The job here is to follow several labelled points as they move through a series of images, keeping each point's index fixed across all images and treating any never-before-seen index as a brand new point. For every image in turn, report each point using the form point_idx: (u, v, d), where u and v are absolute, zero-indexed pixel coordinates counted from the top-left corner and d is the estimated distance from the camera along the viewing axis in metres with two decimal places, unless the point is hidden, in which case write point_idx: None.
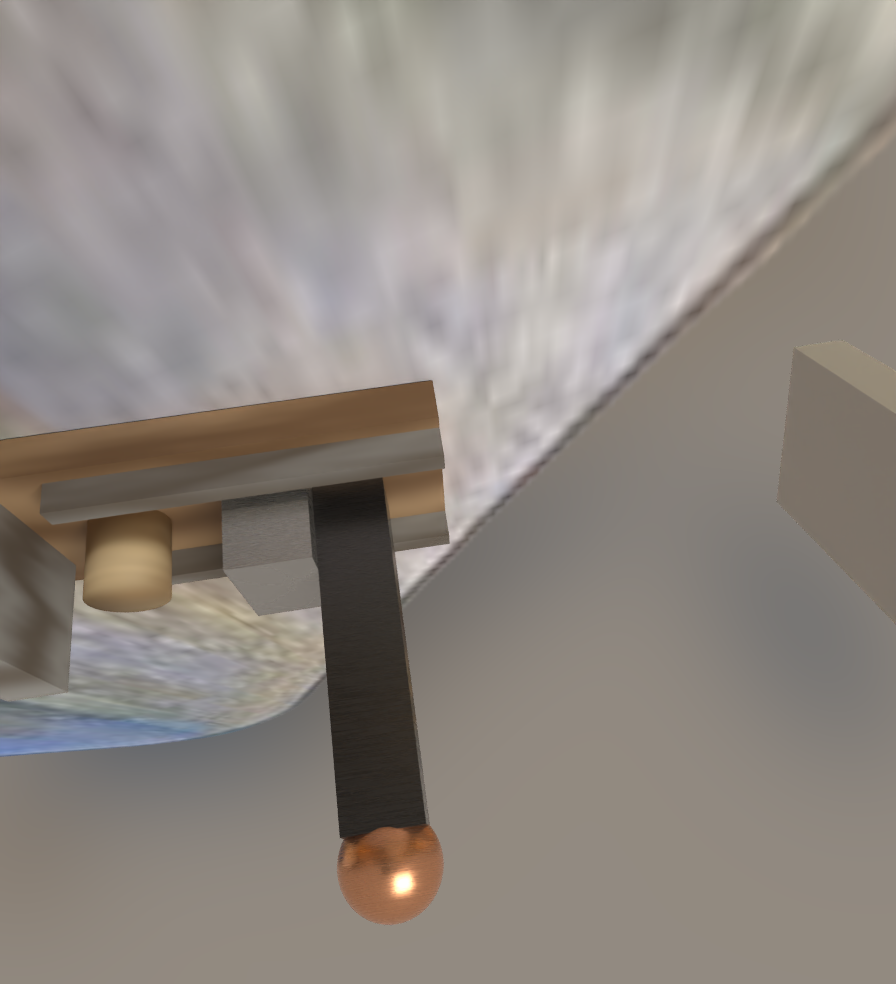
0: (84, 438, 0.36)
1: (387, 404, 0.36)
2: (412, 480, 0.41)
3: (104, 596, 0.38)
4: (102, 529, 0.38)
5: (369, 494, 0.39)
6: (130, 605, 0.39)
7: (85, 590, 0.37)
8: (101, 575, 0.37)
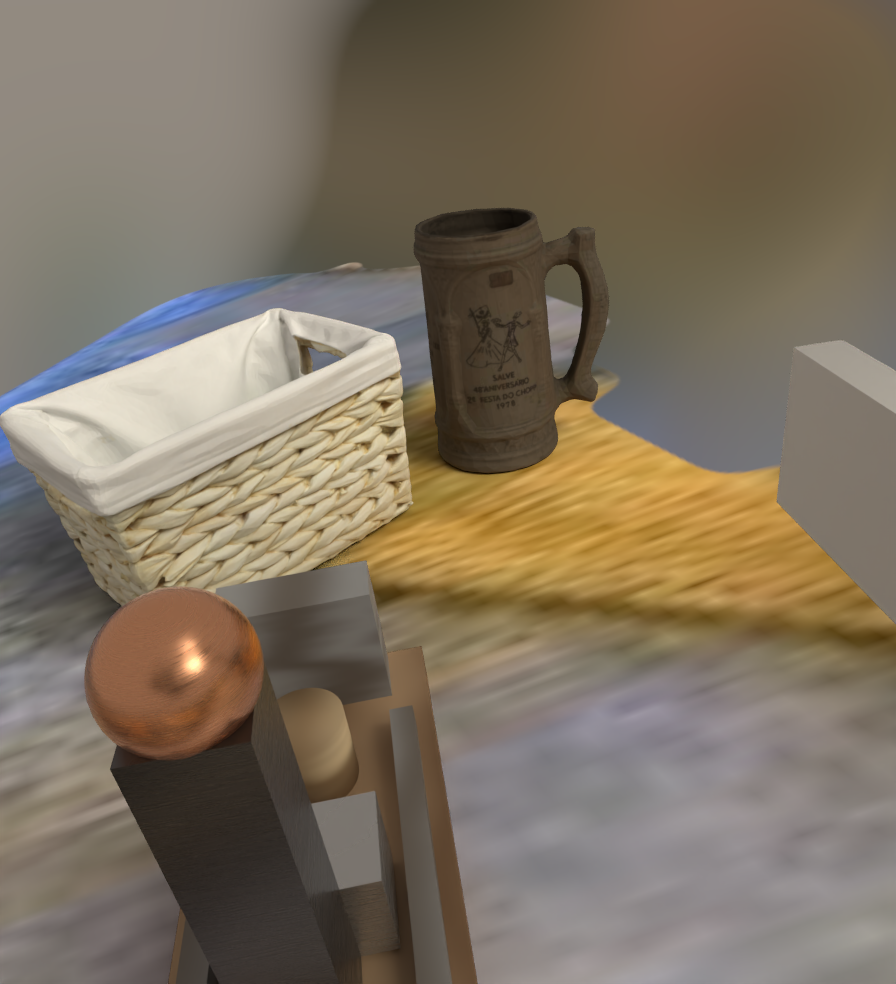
0: None
1: None
2: None
3: (314, 702, 0.38)
4: None
5: None
6: None
7: None
8: (343, 711, 0.38)
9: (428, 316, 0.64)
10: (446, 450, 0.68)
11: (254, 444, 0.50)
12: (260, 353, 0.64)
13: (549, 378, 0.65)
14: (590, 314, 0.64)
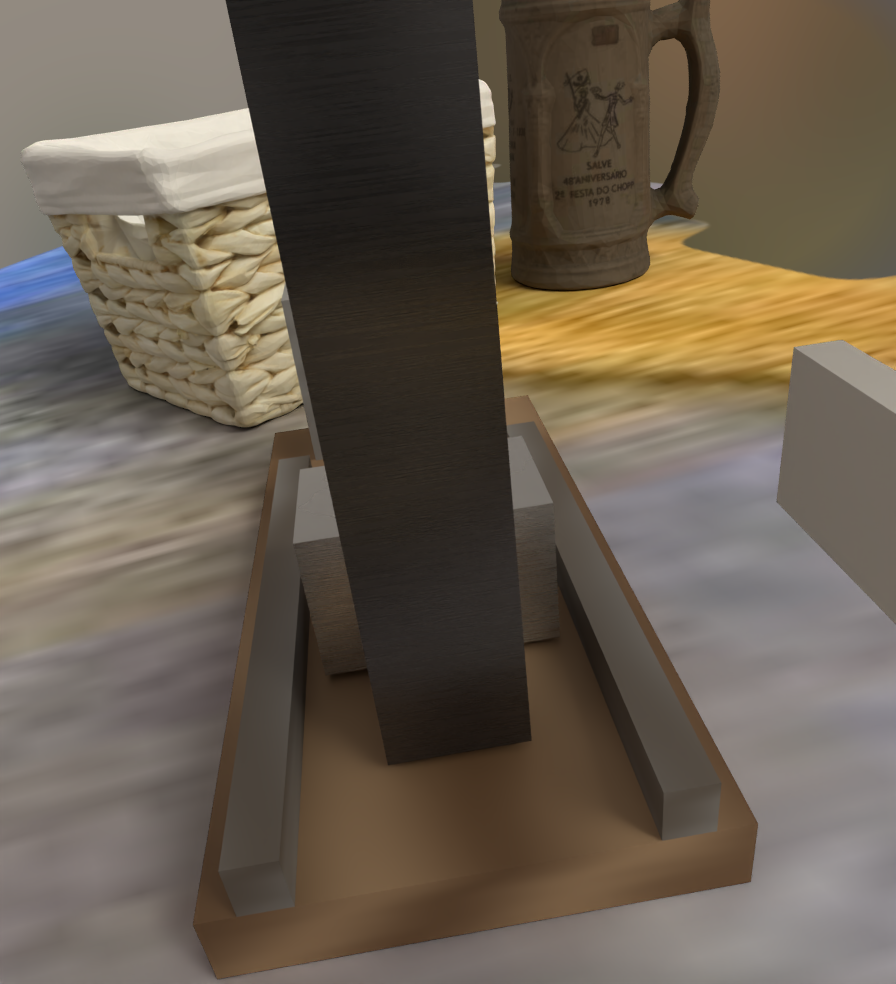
0: None
1: None
2: (482, 810, 0.18)
3: None
4: None
5: None
6: None
7: None
8: None
9: (513, 96, 0.55)
10: (523, 267, 0.60)
11: None
12: None
13: (648, 177, 0.57)
14: (698, 102, 0.56)
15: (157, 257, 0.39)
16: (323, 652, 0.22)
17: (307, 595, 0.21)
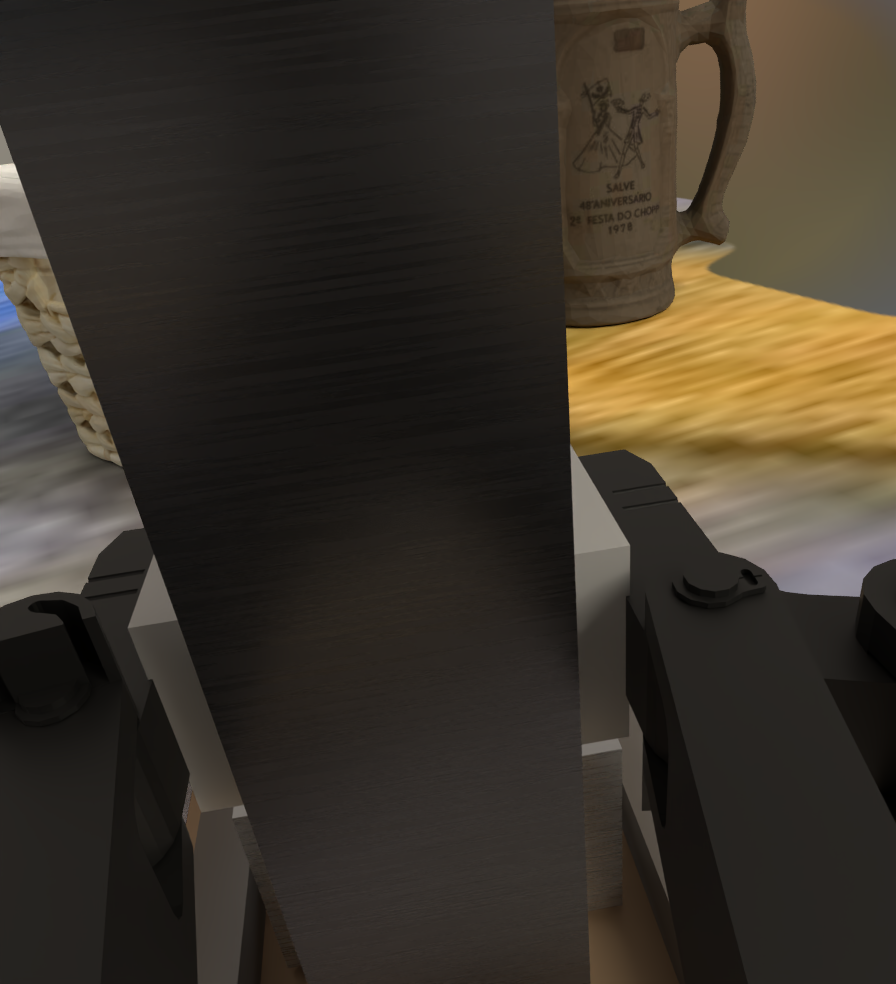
0: None
1: None
2: None
3: None
4: None
5: None
6: None
7: None
8: None
9: None
10: None
11: None
12: None
13: (675, 199, 0.50)
14: (731, 115, 0.49)
15: None
16: (283, 942, 0.15)
17: (257, 878, 0.14)
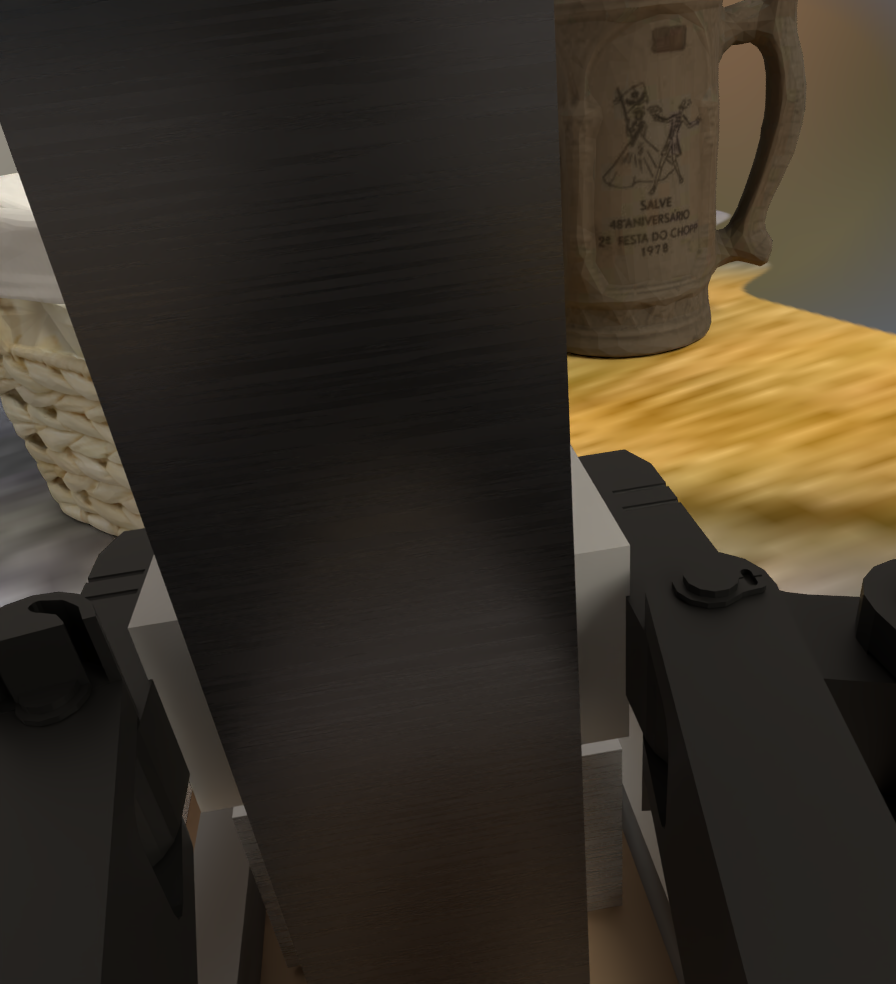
0: None
1: None
2: None
3: None
4: None
5: None
6: None
7: None
8: None
9: None
10: None
11: None
12: None
13: (715, 217, 0.45)
14: (779, 123, 0.44)
15: None
16: (283, 942, 0.15)
17: (257, 878, 0.14)
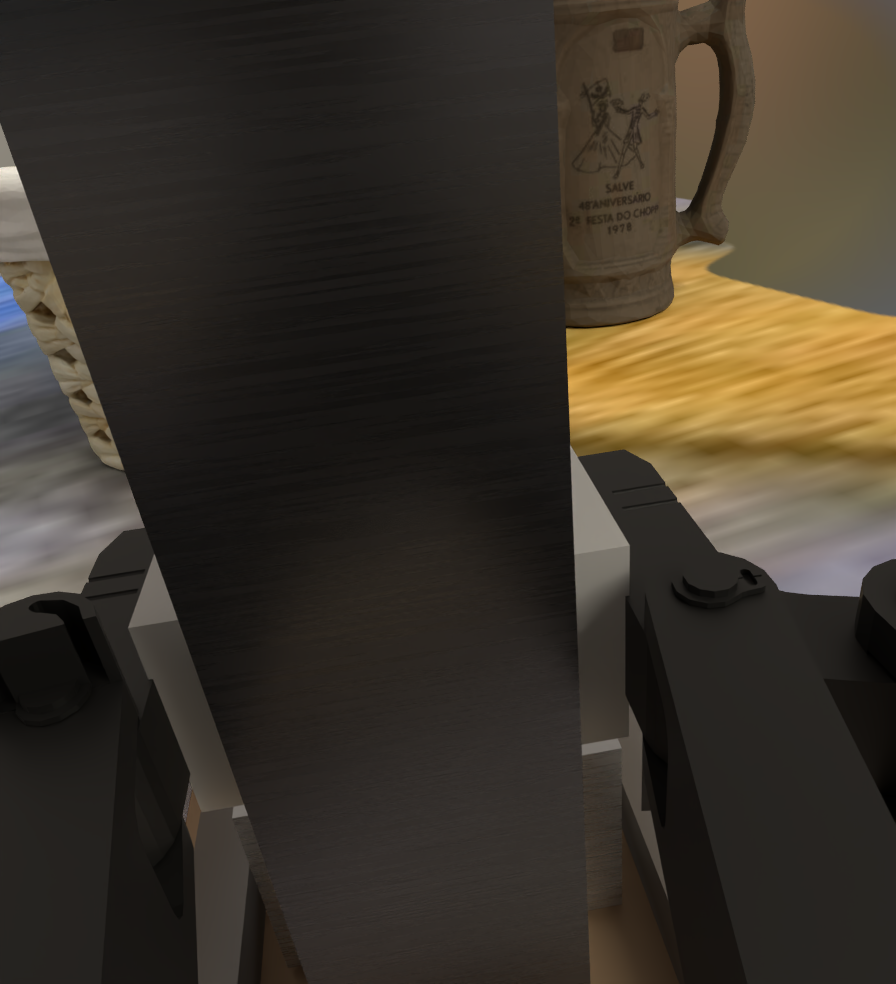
0: None
1: None
2: None
3: None
4: None
5: None
6: None
7: None
8: None
9: None
10: None
11: None
12: None
13: (674, 200, 0.50)
14: (731, 115, 0.49)
15: None
16: (283, 942, 0.15)
17: (257, 878, 0.14)
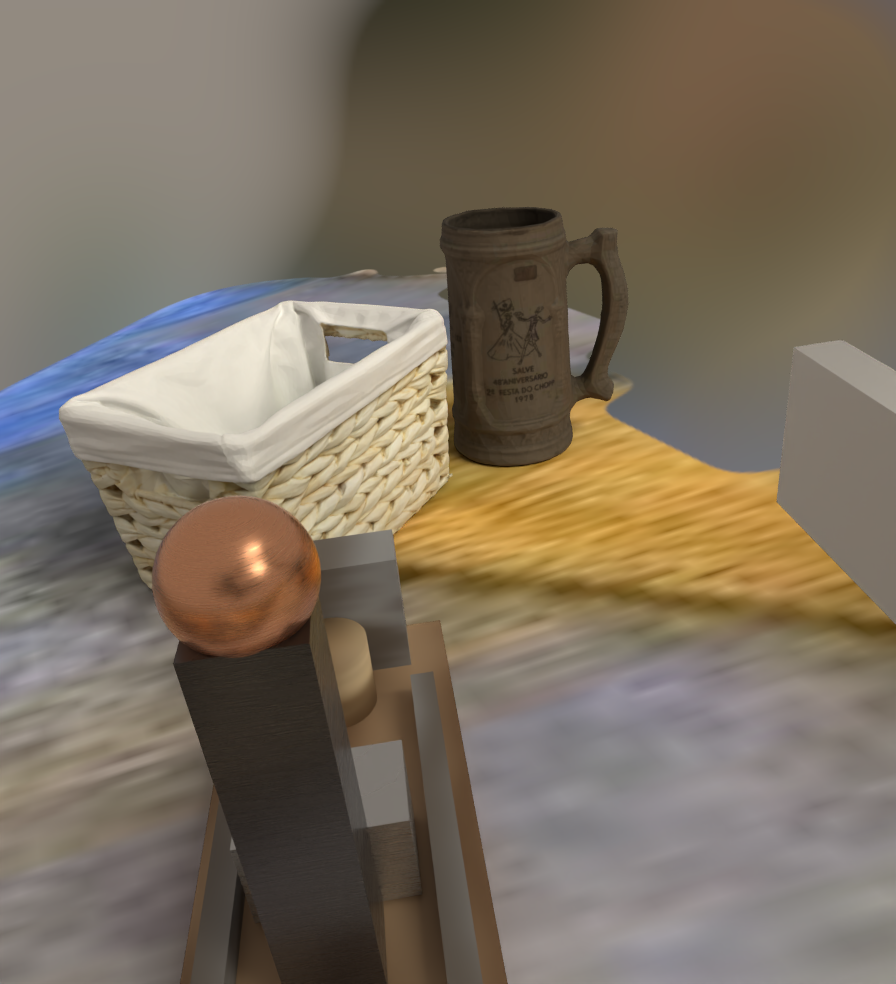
0: None
1: None
2: None
3: (339, 629, 0.41)
4: None
5: (383, 957, 0.29)
6: None
7: None
8: None
9: (451, 309, 0.65)
10: (462, 442, 0.69)
11: (356, 410, 0.51)
12: (279, 344, 0.64)
13: (567, 374, 0.66)
14: (609, 313, 0.66)
15: None
16: (253, 910, 0.31)
17: (240, 878, 0.30)
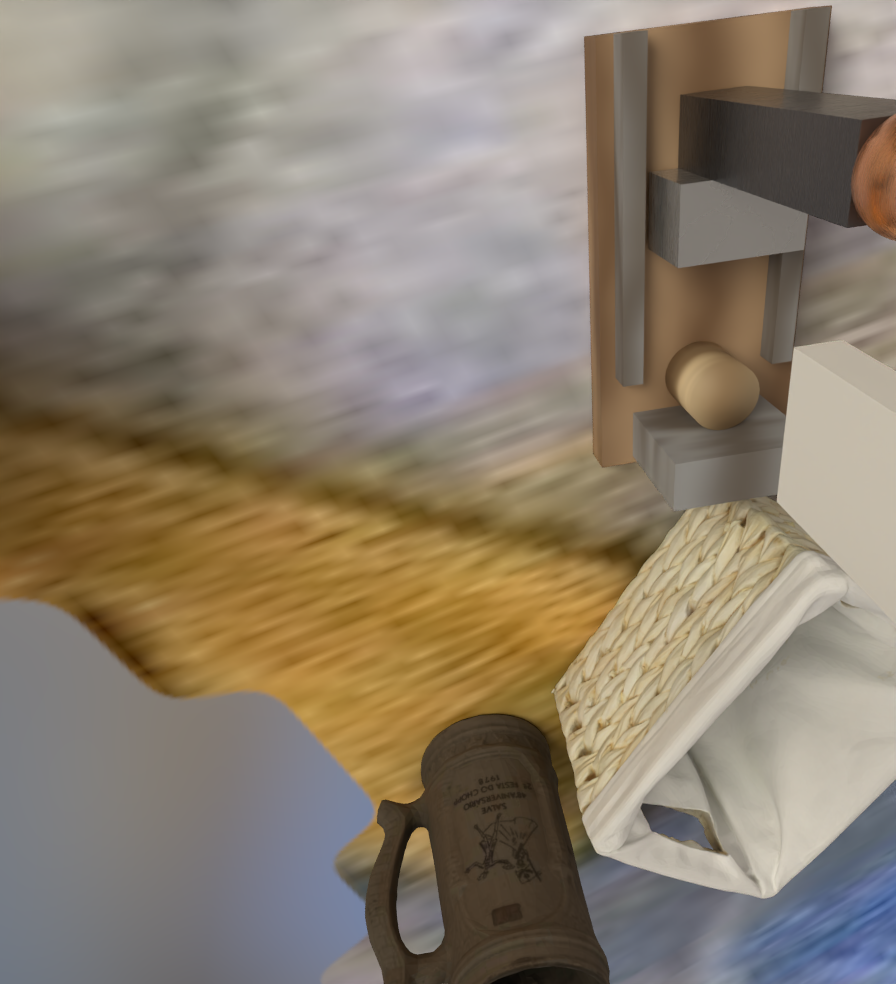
0: (593, 337, 0.48)
1: (590, 85, 0.41)
2: (707, 57, 0.40)
3: (713, 413, 0.45)
4: (672, 392, 0.48)
5: (686, 111, 0.40)
6: (741, 399, 0.45)
7: (699, 423, 0.46)
8: (687, 407, 0.45)
9: (581, 888, 0.54)
10: (545, 746, 0.63)
11: (694, 677, 0.47)
12: (766, 833, 0.55)
13: (437, 815, 0.58)
14: (388, 891, 0.54)
15: (822, 552, 0.47)
16: None
17: None
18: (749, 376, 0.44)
